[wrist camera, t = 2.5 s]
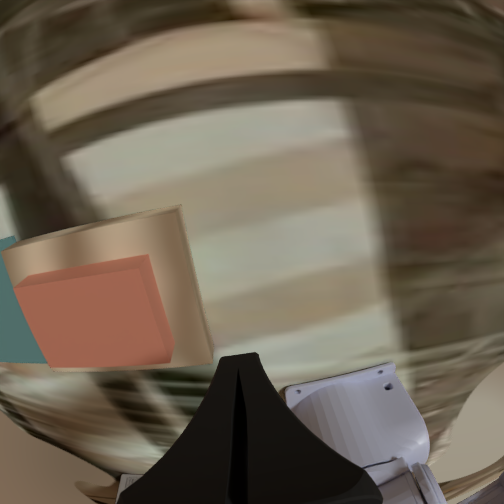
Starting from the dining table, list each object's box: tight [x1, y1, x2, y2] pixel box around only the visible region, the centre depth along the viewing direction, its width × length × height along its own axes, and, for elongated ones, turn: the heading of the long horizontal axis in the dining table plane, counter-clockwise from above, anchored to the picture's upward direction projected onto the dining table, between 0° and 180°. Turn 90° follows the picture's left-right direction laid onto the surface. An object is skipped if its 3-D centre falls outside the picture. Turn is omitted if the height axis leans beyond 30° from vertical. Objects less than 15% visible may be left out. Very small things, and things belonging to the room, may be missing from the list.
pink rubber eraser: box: [13, 254, 175, 368], centre depth 17 cm, size 9×6×2 cm, turn 98°
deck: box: [1, 205, 214, 372], centre depth 18 cm, size 13×10×2 cm
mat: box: [0, 236, 48, 363], centre depth 19 cm, size 9×11×1 cm
